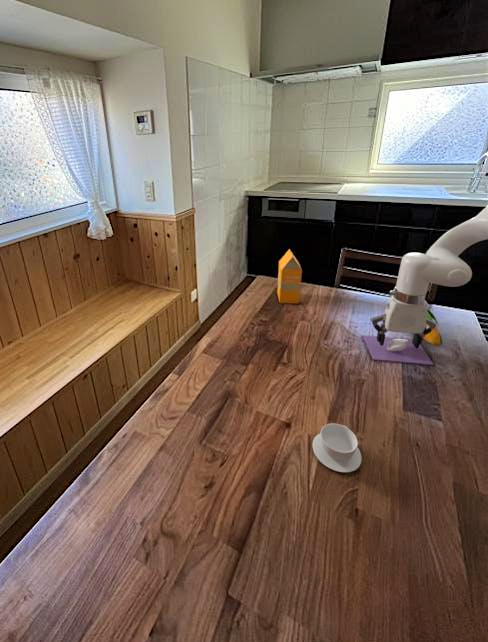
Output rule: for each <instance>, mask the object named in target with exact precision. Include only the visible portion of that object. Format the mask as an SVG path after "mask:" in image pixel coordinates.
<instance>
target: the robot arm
mask: <svg viewBox="0 0 488 642" xmlns="http://www.w3.org/2000/svg"><path fill="white" fill-rule="evenodd" d="M485 240H488V205H486V206H485V208H483V209H482V210H481V211H480V212H478V214H477V215H476V216H474V217H472V218H470V219H468V220H466V221H464V222H462V223H460V224H458V225H455V226H454V227H452V228H451V229H449V230H447V231H446V232H445V233H443V234H442V235H441V236H440V237H439V238H438V239H437V240H436V241H435V242H434V243H433V244H432V245H431V246H430V247H429V249H427V251H426V252H425V253H421V252H408V253H406V254H404V255H403V256H402V258H401V260H400V266H399V270H398V275H397V279H396V284H395V287H394V288H393V290H389V291H388V296H390V298H389V300H388V302H387V303H386V307H385V308H384V309H385V310H384V312H383V314H380V315H377V316H375V317H371V318H370V322H371V323H372V326H373V328H374V329H375V330H376V332H377V335H376V337H377V341H379V343H380V345H381V346H383V344H384V340H385V337H386V333H387V332H390V333H400V334H401V333H403V334H413V336H412V339H413V340H412V343H413V345H414V346H415V348H419V345H422V341H423V337H425V335H426V334H428V333H430V332H431V330H433V329H434V328H435V327H437V326H438V325H437V323H436V322H435V321H434V320H433V321H431V320H429V319H427V309H428V301H427V300H426V296H427V293H428V289H429V285H430V284H434V285H439V286H444V287H451V288H453V287H454V288H455V287H461V286H464V285H466V284H468V282H470V281H471V279H472V276H473V271H472V269H471V267H470V265H468V264H467V262H465V261H464V260H463V259H462V258H460V257H459V255H461V254H462V253H463V252H464V251H465V250H466V249H467V248H469V247H470V246H472V245H474V244H476V243H478V242H481V241H485ZM379 322H382V323H381V324H380V325H379V324H378V323H379ZM426 324H428V325H427V326H426V327H425V325H426Z"/></svg>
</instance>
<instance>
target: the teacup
mask: <svg viewBox="0 0 488 642" xmlns="http://www.w3.org/2000/svg"><path fill="white" fill-rule="evenodd" d="M358 445H359V442H358V438H357V436H356V435H355V433H354V432H353V431H352V430H351V429H350V428H348V426H346V425H343V424H339V423H327V424H325V425H323V426H322V428H321V430H320V433H317V435H316V436H315V437H314V438H313V440H312V451H313V453H314V455H315V456H316V459H318V461H319V462H320V463H321V464H323V465H324V466H325V467H327V468H328V469H330V470H333V471H335V472H340V473H351V472H354V471H356V470H357V469H358V468H359V467H360V466H361V464H362V460H363V459H362V458H363V457H362V454H361V453H362V452H361V451H360V448H359V447H358Z"/></svg>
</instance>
